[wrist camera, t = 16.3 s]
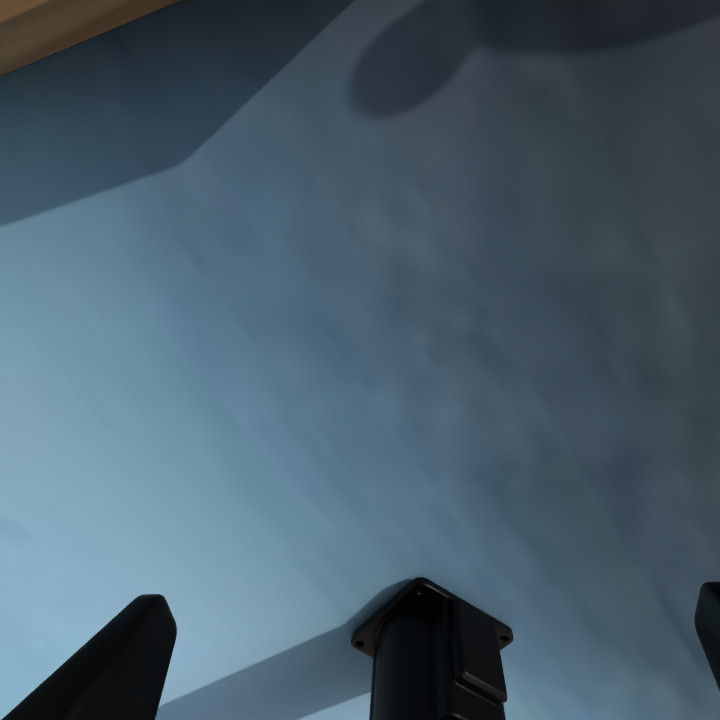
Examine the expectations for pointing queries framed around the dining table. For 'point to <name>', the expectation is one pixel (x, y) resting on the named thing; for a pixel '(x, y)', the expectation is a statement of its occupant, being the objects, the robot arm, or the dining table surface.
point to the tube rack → (60, 25)
